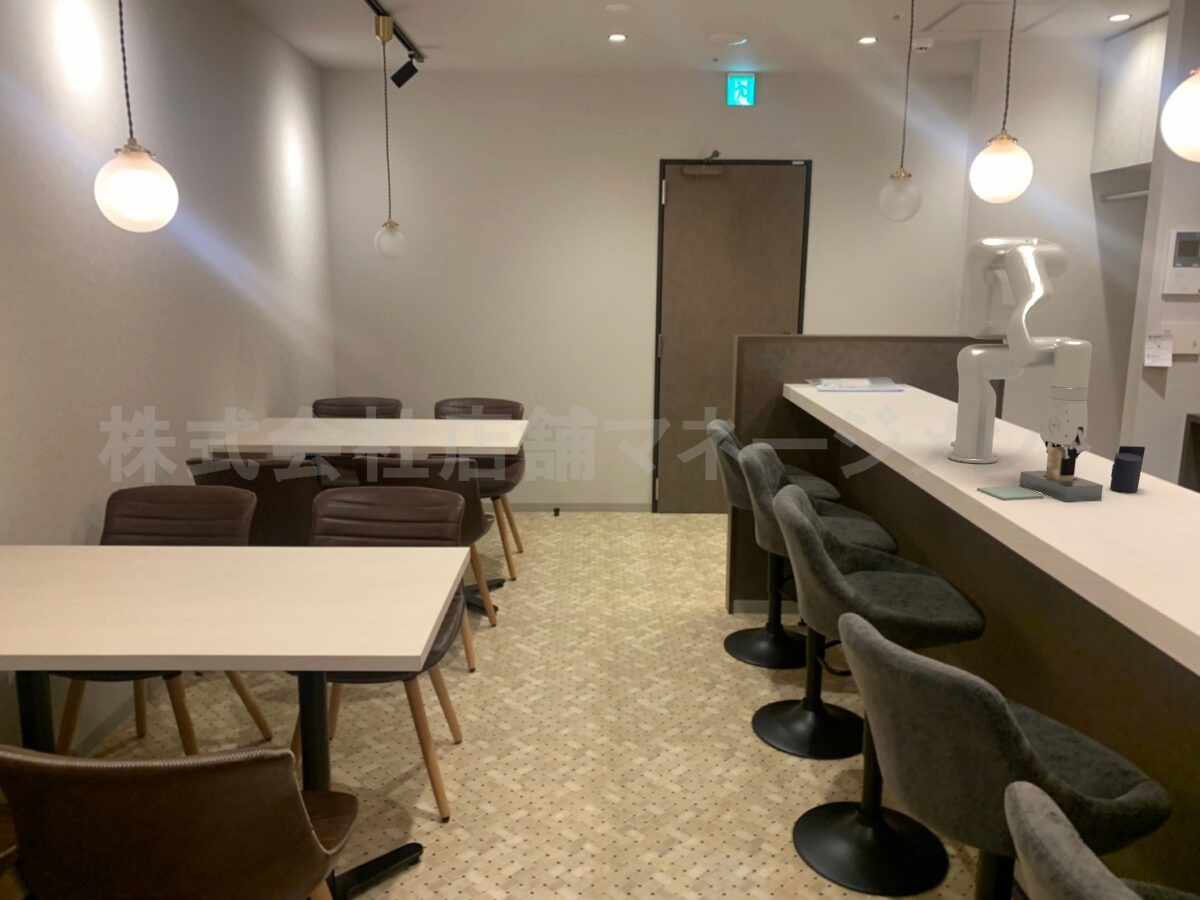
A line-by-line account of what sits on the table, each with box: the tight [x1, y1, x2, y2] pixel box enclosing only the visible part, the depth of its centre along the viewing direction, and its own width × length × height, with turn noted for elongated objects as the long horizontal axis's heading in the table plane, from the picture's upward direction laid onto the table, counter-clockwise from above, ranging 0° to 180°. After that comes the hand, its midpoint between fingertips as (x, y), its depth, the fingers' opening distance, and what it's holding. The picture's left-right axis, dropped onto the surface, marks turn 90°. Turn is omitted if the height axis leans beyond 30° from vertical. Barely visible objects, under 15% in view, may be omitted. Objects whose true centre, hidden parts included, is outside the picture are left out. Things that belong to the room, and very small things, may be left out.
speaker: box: [1109, 445, 1146, 494], centre depth 204 cm, size 8×6×10 cm
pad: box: [976, 485, 1044, 501], centre depth 201 cm, size 10×10×1 cm
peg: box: [1046, 446, 1075, 481], centre depth 201 cm, size 4×4×10 cm
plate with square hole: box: [1019, 470, 1104, 503], centre depth 202 cm, size 16×9×4 cm, turn 10°
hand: (1060, 472), depth 202 cm, fingers closed on peg, 4 cm apart
